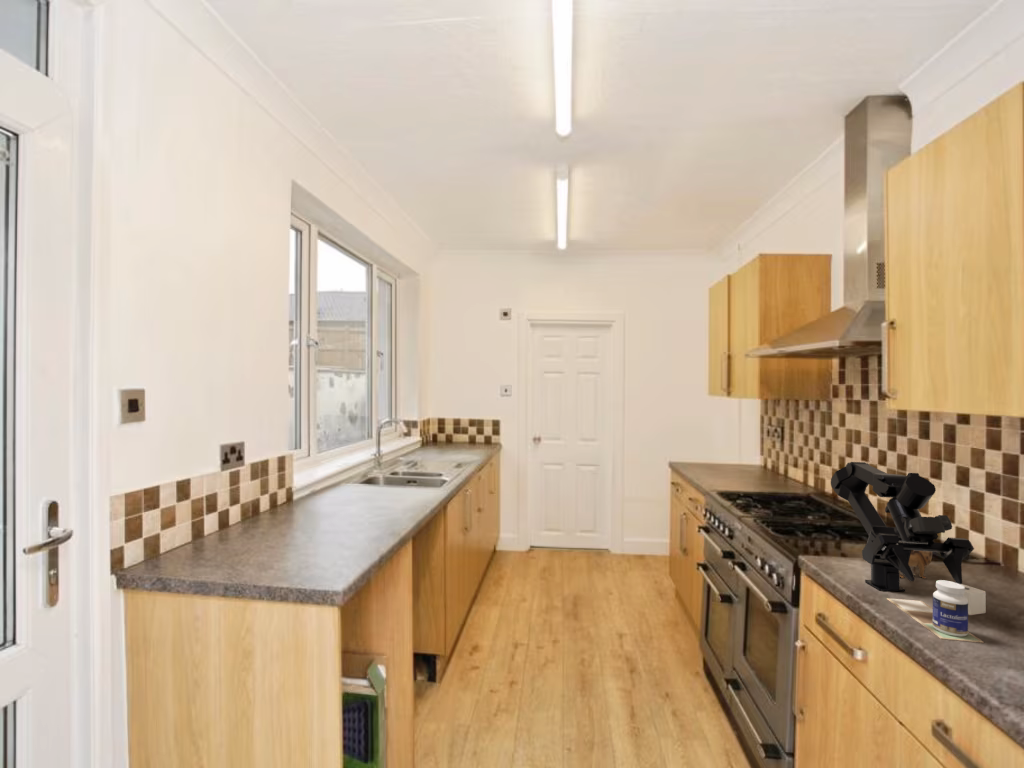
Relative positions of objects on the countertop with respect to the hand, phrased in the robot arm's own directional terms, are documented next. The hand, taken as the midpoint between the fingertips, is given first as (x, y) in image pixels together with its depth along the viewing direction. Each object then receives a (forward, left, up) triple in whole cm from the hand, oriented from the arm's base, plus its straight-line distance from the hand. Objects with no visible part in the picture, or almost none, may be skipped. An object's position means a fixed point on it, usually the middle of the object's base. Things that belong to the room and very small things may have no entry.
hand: (936, 582), depth 113 cm
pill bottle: (+5, -1, -9) cm, 10 cm away
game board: (-2, 0, -9) cm, 9 cm away
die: (-8, +13, -9) cm, 18 cm away
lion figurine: (-31, +15, -9) cm, 36 cm away
